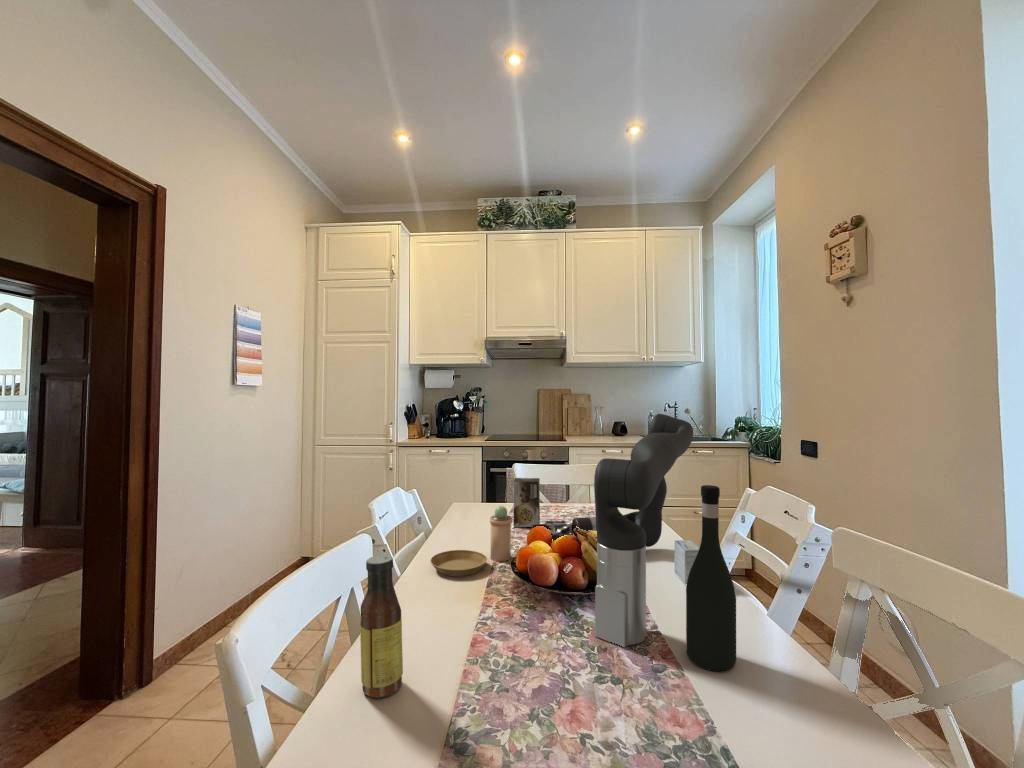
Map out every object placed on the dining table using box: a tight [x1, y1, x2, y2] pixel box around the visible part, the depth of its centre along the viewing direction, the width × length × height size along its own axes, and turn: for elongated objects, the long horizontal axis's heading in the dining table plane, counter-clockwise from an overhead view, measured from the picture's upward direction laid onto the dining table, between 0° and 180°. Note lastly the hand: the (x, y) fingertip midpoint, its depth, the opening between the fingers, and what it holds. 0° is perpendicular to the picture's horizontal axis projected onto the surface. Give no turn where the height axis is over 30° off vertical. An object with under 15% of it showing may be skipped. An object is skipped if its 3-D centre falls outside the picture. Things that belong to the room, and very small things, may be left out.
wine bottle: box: [685, 484, 737, 672], centre depth 81 cm, size 8×8×30 cm
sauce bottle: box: [359, 554, 404, 699], centre depth 73 cm, size 7×6×20 cm
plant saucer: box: [430, 549, 488, 577], centre depth 123 cm, size 15×15×3 cm
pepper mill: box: [489, 505, 513, 562], centre depth 131 cm, size 6×6×14 cm
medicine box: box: [673, 539, 700, 585], centre depth 116 cm, size 8×4×9 cm, turn 179°
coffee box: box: [512, 477, 541, 528], centre depth 163 cm, size 9×6×16 cm
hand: (535, 532), depth 132 cm, fingers open, 8 cm apart
